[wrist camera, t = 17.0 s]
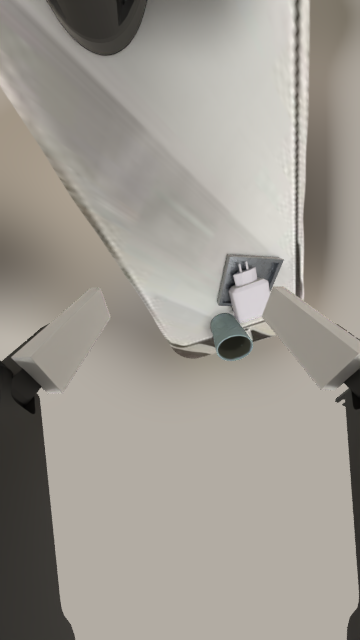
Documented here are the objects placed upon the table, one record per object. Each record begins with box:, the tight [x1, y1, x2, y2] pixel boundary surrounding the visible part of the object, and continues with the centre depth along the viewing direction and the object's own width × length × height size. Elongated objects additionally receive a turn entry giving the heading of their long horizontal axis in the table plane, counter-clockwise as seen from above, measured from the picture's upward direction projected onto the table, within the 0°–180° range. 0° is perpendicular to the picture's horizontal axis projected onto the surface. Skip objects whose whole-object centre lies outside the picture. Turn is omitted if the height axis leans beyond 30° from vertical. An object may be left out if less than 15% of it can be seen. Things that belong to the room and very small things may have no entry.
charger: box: [229, 261, 270, 323], centre depth 40 cm, size 5×9×15 cm
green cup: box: [211, 313, 253, 361], centre depth 46 cm, size 10×10×12 cm
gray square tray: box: [217, 255, 284, 306], centre depth 42 cm, size 14×14×2 cm
